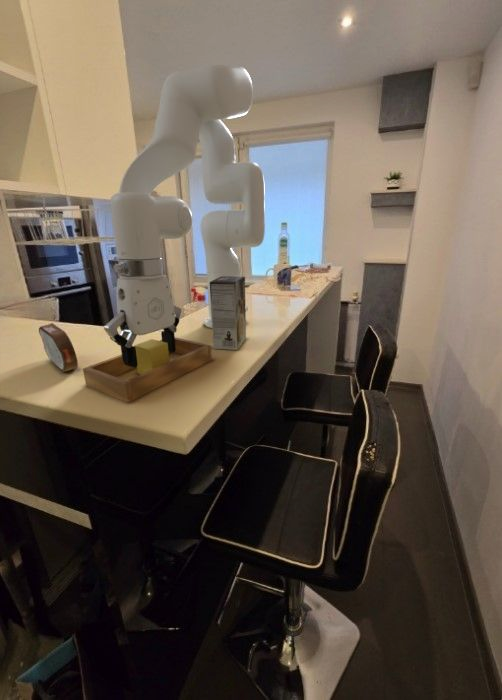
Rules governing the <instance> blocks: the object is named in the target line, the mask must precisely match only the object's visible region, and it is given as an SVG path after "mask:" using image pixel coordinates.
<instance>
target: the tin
mask: <svg viewBox="0 0 502 700" xmlns="http://www.w3.org/2000/svg"><path fill="white" fill-rule="evenodd" d="M38 334H39V336H40V339H41V341H42V344H43V349H44V352H45V353H46V356H47V357H48V359H49V360H50V361H51V363H53V365H54V366H55V367H57V368H58V369H59V370H60V371H61V372H62V373H66V372H70V371H73V370H77V369H78V368H79V362H78V356H77V353H76V351H75V348H74V345H73V343H72V341H71V338H70V337H69V336H68V333H67V332H65V330H64V329H62V328H60V327H59V326H58V325H56V324H55V323H53V322H50V323H48V324H44V325H41V326H39V328H38Z"/></svg>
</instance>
